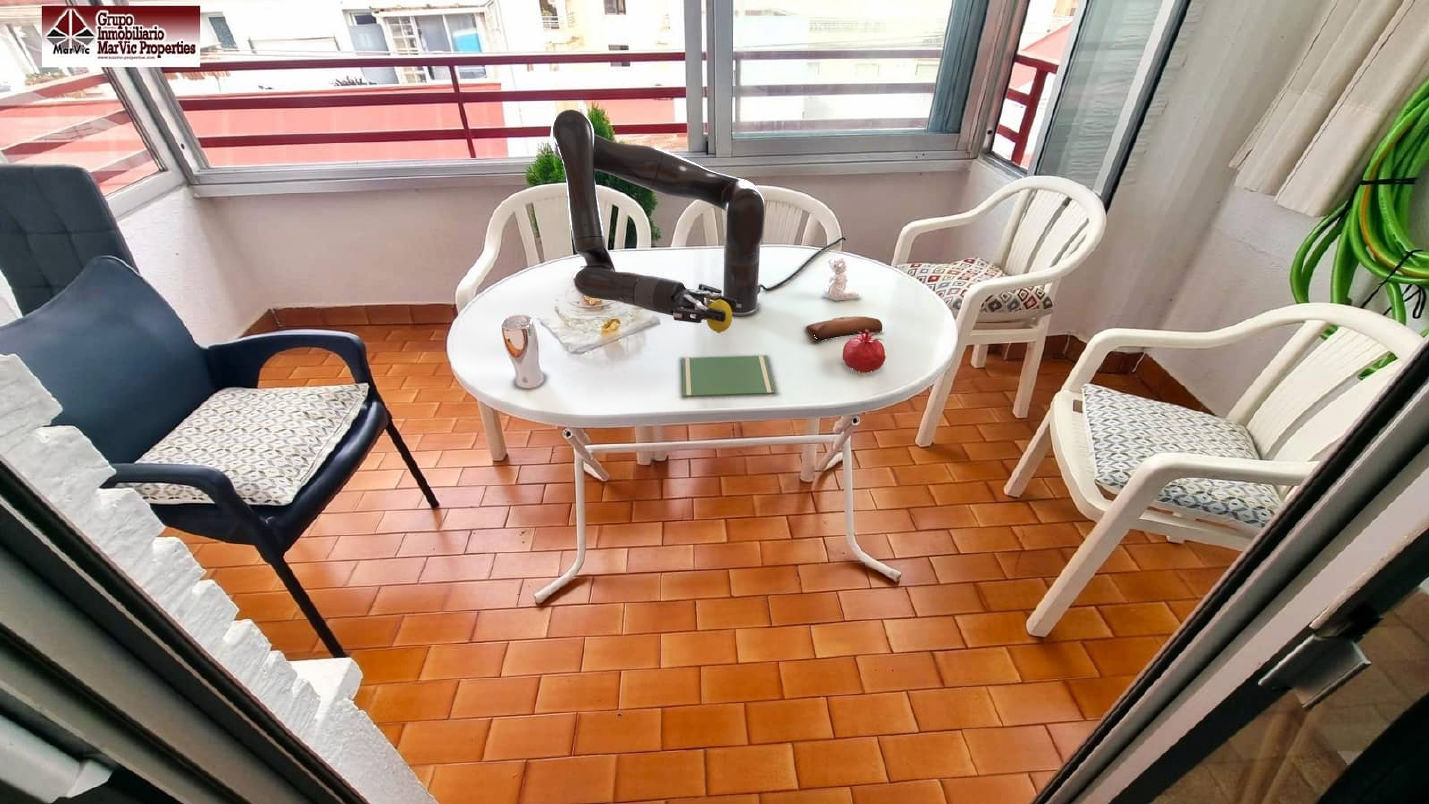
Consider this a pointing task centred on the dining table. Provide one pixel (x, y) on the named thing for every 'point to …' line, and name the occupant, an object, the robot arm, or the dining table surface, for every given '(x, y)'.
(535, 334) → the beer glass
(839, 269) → the white creature statuette
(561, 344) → the dining table surface
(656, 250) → the dining table surface
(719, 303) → the lemon
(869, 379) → the dining table surface
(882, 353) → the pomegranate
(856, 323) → the sunglasses case
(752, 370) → the cloth
